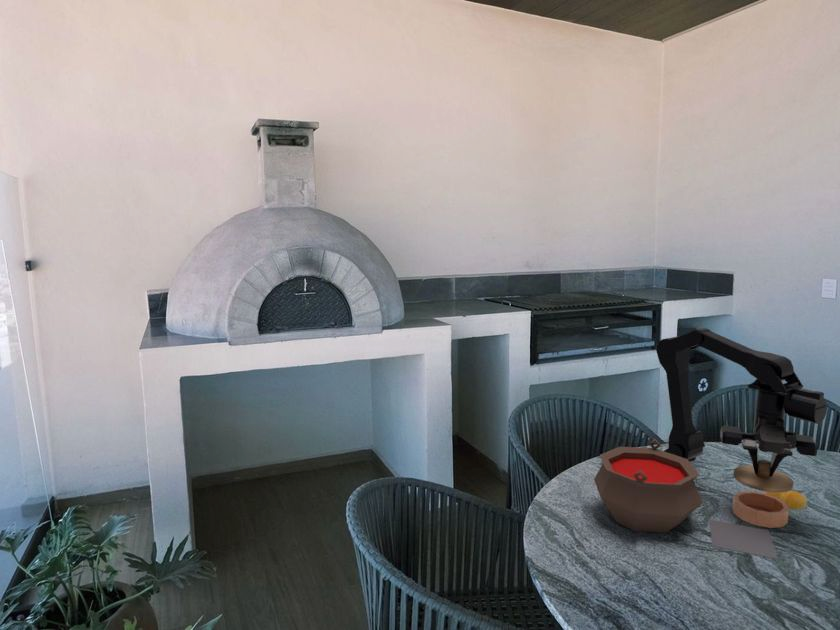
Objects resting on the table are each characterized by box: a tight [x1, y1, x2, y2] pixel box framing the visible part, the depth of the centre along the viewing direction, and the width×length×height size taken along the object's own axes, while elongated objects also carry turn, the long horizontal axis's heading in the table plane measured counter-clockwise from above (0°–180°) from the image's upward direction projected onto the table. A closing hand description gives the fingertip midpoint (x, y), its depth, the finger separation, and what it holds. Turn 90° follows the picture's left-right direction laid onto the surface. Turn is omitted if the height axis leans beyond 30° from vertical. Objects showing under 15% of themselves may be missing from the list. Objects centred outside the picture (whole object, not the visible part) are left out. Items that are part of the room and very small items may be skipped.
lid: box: [732, 459, 794, 493], centre depth 135 cm, size 12×12×4 cm
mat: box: [708, 519, 778, 560], centre depth 127 cm, size 12×12×1 cm
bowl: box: [732, 490, 790, 529], centre depth 136 cm, size 11×11×4 cm
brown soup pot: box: [593, 438, 703, 533], centre depth 135 cm, size 24×24×16 cm
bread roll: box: [763, 490, 808, 510], centre depth 143 cm, size 8×9×4 cm
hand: (763, 474), depth 135 cm, fingers closed on lid, 3 cm apart
